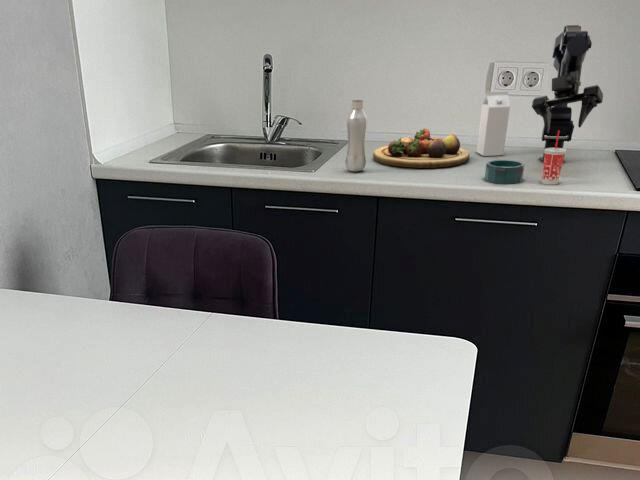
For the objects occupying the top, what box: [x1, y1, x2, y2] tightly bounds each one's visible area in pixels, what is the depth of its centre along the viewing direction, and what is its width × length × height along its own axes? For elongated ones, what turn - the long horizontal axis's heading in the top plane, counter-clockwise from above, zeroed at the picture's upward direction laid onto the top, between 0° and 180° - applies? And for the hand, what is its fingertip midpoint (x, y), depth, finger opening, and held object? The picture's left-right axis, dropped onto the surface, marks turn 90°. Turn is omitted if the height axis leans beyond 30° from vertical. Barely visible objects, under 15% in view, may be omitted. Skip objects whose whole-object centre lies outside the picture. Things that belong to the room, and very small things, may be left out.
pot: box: [484, 159, 526, 185], centre depth 216 cm, size 11×14×4 cm
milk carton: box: [476, 90, 511, 157], centre depth 244 cm, size 7×7×19 cm
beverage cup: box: [541, 130, 567, 186], centre depth 209 cm, size 6×6×14 cm
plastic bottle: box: [345, 99, 368, 173], centre depth 226 cm, size 6×7×20 cm
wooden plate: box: [372, 128, 471, 169], centre depth 242 cm, size 32×32×8 cm
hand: (563, 129), depth 213 cm, fingers open, 9 cm apart
